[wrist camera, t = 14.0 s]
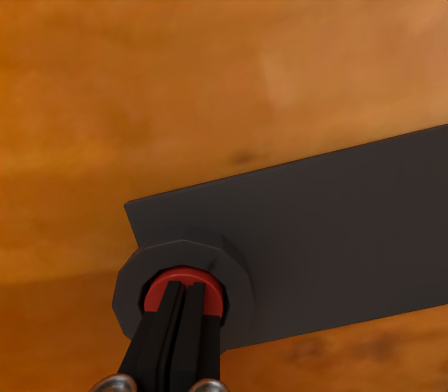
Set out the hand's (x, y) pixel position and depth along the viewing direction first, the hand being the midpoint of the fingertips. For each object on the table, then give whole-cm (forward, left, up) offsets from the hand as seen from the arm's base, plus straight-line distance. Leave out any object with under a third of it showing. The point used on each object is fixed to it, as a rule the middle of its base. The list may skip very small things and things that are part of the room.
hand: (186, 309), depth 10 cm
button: (0, 0, -2) cm, 2 cm away
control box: (+7, -1, -3) cm, 7 cm away
